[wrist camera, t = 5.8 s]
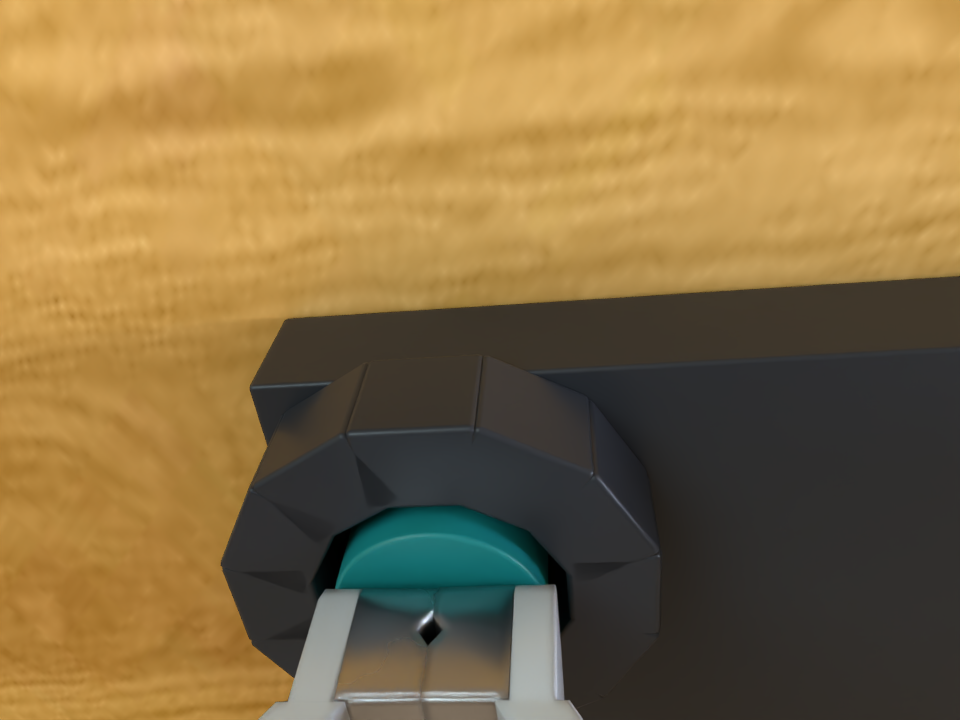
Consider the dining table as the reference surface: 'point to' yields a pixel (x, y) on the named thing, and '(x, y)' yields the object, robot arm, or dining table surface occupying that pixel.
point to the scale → (648, 485)
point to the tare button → (439, 551)
